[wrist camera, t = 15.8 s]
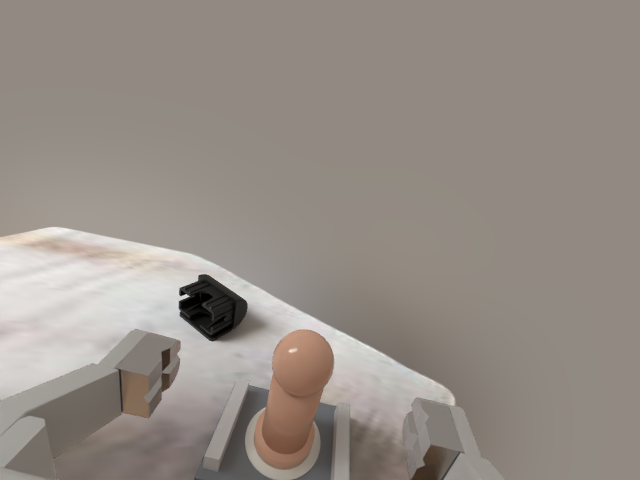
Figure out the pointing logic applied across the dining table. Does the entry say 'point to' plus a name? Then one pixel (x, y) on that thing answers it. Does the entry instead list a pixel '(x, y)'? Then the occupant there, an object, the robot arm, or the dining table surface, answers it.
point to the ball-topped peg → (293, 399)
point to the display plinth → (240, 454)
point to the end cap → (211, 307)
